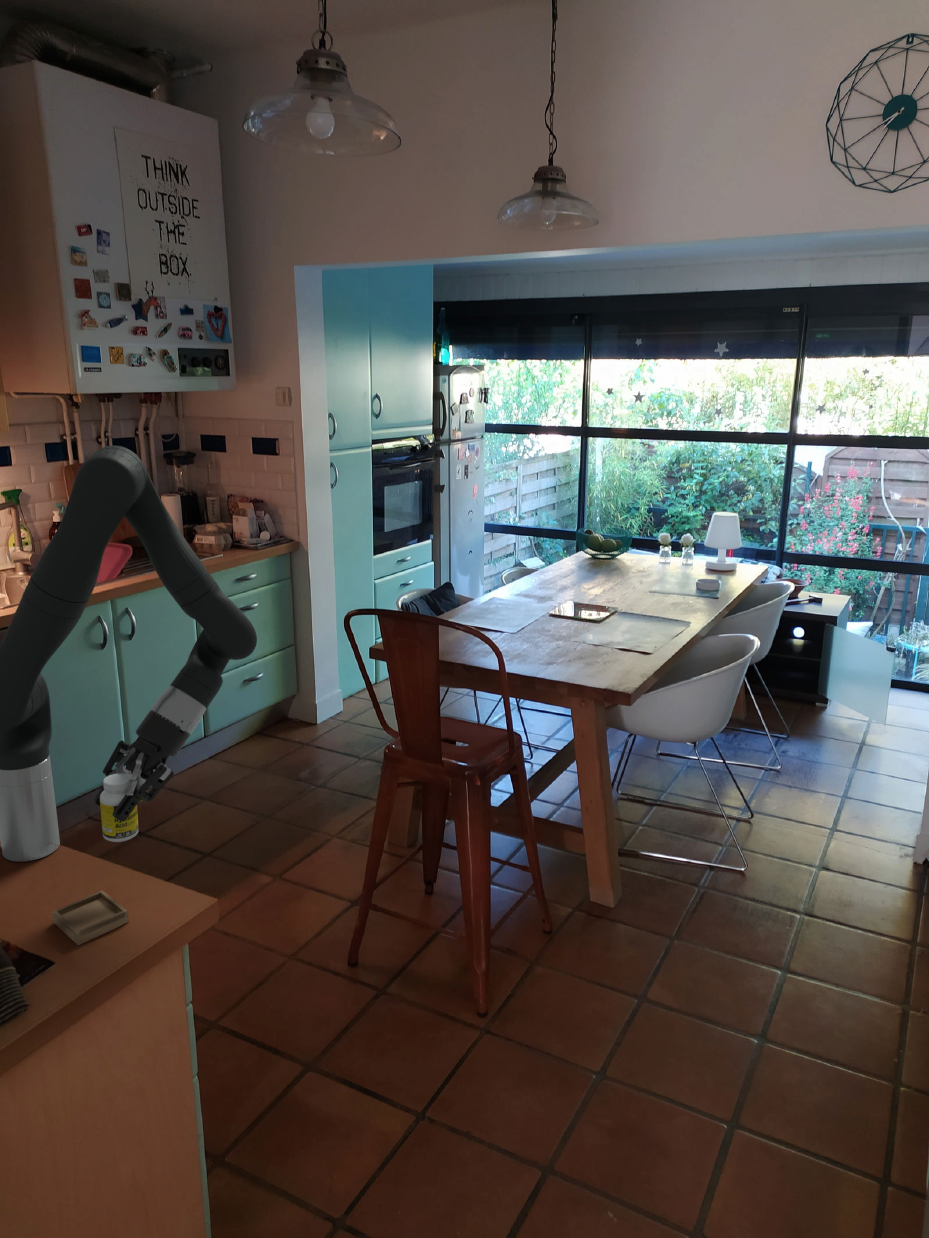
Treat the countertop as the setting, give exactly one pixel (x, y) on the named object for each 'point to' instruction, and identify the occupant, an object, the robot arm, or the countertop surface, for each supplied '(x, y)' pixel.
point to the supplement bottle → (109, 800)
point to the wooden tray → (90, 917)
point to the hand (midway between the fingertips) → (108, 811)
